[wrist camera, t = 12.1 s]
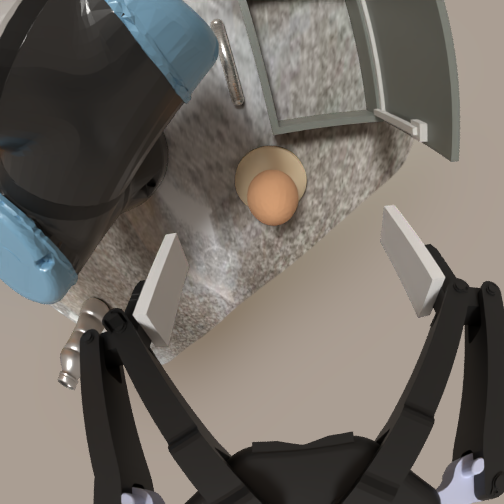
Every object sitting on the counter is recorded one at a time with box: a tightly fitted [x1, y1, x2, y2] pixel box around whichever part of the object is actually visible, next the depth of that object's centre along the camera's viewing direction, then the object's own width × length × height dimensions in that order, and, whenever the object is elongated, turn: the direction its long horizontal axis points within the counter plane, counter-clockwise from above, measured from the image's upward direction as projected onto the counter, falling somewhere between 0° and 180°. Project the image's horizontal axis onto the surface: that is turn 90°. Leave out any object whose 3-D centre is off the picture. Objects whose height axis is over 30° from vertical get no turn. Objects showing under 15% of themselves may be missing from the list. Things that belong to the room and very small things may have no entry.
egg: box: [247, 170, 298, 226], centre depth 31 cm, size 6×6×8 cm
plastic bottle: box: [58, 298, 109, 390], centre depth 44 cm, size 6×7×20 cm
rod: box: [210, 19, 244, 105], centre depth 25 cm, size 1×11×1 cm, turn 13°
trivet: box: [235, 146, 307, 207], centre depth 34 cm, size 9×9×1 cm
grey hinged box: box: [238, 0, 460, 162], centre depth 17 cm, size 14×19×17 cm
